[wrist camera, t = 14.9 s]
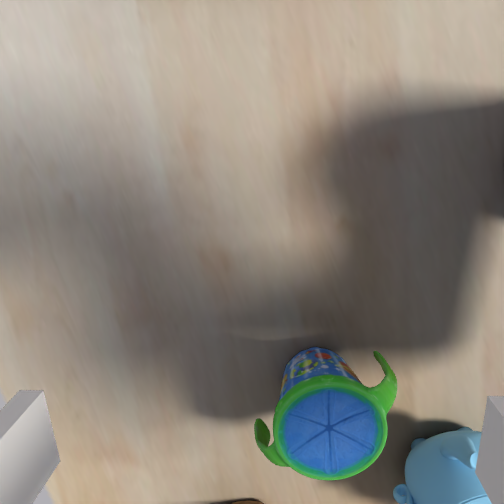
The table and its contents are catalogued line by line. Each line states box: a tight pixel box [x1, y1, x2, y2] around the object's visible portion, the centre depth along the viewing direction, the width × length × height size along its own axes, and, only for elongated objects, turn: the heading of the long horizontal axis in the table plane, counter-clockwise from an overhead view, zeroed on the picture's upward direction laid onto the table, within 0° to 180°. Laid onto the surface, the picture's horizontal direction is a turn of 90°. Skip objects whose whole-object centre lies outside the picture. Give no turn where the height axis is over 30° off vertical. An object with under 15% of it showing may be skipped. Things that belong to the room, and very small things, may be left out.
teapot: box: [393, 427, 492, 504], centre depth 44 cm, size 13×14×11 cm
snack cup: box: [254, 347, 397, 480], centre depth 42 cm, size 16×10×10 cm
